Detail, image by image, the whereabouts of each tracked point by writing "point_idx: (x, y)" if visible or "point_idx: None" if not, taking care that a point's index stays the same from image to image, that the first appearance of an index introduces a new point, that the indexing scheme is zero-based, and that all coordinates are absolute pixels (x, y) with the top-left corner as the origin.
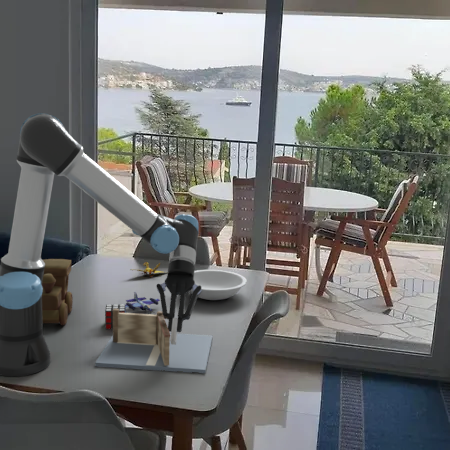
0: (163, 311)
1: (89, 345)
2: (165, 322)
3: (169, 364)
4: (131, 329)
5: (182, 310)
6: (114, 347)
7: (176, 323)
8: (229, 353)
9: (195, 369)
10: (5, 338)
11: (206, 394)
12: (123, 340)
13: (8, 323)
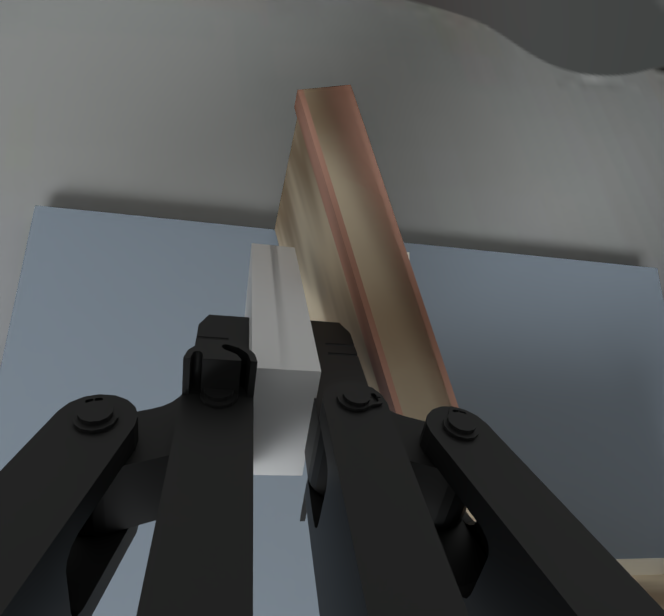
0: (494, 450)
1: None
2: (397, 406)
3: None
4: (662, 606)
5: (173, 470)
6: (647, 479)
7: (259, 324)
8: None
9: (104, 212)
10: None
11: (56, 6)
12: (639, 578)
13: None
